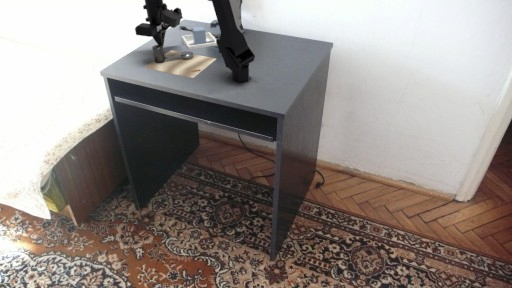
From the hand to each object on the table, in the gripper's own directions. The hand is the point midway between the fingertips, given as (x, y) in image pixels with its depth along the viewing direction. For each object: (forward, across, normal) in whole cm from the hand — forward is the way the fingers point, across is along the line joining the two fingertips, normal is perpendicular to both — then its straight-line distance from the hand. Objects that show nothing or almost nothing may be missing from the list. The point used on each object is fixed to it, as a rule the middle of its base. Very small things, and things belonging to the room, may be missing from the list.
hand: (161, 46), depth 125 cm
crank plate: (+4, -5, -10) cm, 12 cm away
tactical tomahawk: (+5, +29, -2) cm, 29 cm away
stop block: (+4, +15, -8) cm, 17 cm away
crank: (+2, -3, -6) cm, 7 cm away
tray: (+4, +15, -8) cm, 17 cm away
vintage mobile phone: (+4, +32, -17) cm, 36 cm away
